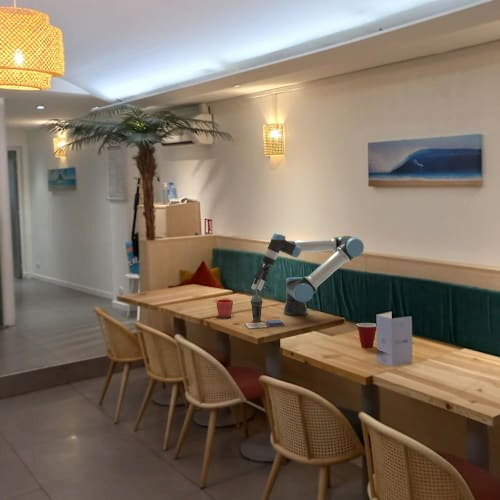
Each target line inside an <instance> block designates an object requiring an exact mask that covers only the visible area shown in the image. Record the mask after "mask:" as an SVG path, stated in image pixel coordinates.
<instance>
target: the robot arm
mask: <svg viewBox="0 0 500 500" xmlns="http://www.w3.org/2000/svg"><path fill="white" fill-rule="evenodd" d="M286 237H287V236H285V235H283V234H280V233H279V232H274V233H273V235H272V236H271V237H270V238H271V239H270V241H269V243H268V246H267V248H266V249H265V253H264V256H263V257H262V258H261V259H262V262H264V263H261V265H260V268H259V269H258V270H257V272H256V274H255V275H254V280H253V282H252V285H251V288H250V289H252V290H253V291H256V288H257V291H258V290H259V291H262V289H263V287H264V284H265V282H267V281H268V277H269V274H270V271H271V268H272V266H274V265H275V262H276V260H277V258H278V256H279V253H284V254H286V255H289V256H290V257H293V258H299V256H300V254H301V253H309V252H310V253H311V252H313V253H315V252H317V253H318V252H333V254H332V255H330V257H328V258H327V259H326V260H325V261H324V262H323V263H321V264H320V265H319V266H318V267H316V269H315V270H314V271H312V272H311V273H310V274H309V275H307V276H303V277H301V276H300V277H287V278H286V279H285V280H286V281H285V299H286V301H285V304H284V308H283V315H287V316H305V315H307V314H308V308H307V304H306V303H307V302H309V301H310V300H311V299H312V298H313V295H314V294H315V293H316V292H317V290H318V287H319V286H320V285H321V284H322V283H324V281H326V280H327V279H328V278H329V277H331V275H333V274H334V272H336V271H337V270H339V269H340V267H341V266H342V265H344V264H345V263H347V262H348V263H349V262H351V261H352V260H353V259H355V258H358V257H360V256H361V255H362V254H363V252H364V249H365V247H364V246H365V245H364V243H363V241H362V240H361V239H360V238H358V237H354V236H350V235H343V236H336V237H334V236H333V237H331V238H329V239H328V238H326V239H302V240H287V239H286Z"/></svg>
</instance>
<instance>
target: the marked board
mask: <svg viewBox="0 0 500 500" xmlns="http://www.w3.org/2000/svg"><path fill="white" fill-rule="evenodd" d="M244 326H245V327H246V328H247V329H248V330H257V329H269V328H270V327H269V326H268V325H267V324H266V322H252V323H251V322H250V323H244Z"/></svg>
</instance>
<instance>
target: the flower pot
mask: <svg viewBox="0 0 500 500" xmlns="http://www.w3.org/2000/svg"><path fill="white" fill-rule="evenodd" d="M215 302H216V308H217V314H218V315H217V316H218V317H221V318H228V317H229V318H230V317H231V316H232V311H233V305H234V300H232V299H218V300H216V301H215Z"/></svg>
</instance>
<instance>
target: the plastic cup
mask: <svg viewBox="0 0 500 500" xmlns="http://www.w3.org/2000/svg"><path fill="white" fill-rule="evenodd" d="M376 324H377V323H374V322H373V323H372V322H360V323H356V327H357V331H358V336H359V341H360V347H361V348H363V349H372V348H373V347H374V342H375V338H376V337H375V336H376V333H377V332H376V331H377V328H376Z"/></svg>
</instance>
